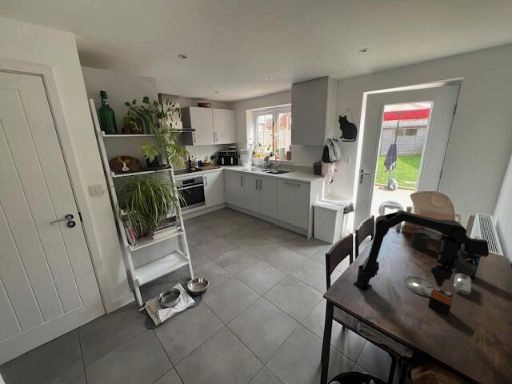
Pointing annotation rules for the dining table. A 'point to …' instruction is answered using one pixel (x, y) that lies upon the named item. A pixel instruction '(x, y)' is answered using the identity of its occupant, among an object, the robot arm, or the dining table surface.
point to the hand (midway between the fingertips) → (442, 281)
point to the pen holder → (420, 241)
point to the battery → (440, 300)
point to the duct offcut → (462, 284)
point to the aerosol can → (468, 256)
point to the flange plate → (419, 286)
